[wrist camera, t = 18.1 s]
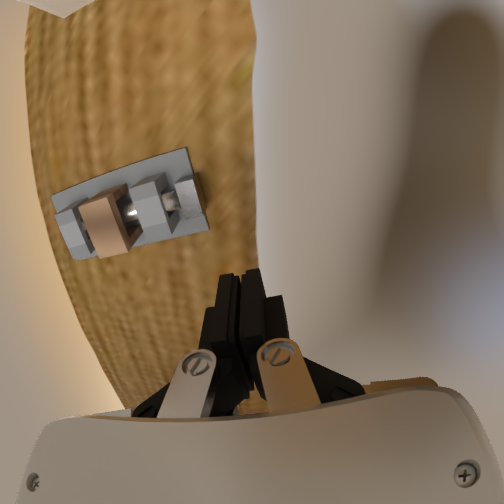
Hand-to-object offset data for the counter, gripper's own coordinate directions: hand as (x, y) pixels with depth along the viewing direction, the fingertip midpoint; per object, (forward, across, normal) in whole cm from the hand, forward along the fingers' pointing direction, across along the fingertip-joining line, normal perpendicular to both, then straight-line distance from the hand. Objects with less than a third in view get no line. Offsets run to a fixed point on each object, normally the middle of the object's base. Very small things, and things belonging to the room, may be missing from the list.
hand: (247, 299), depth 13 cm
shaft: (+21, +13, 0) cm, 25 cm away
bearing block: (+22, +16, 0) cm, 27 cm away
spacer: (+22, +16, 0) cm, 27 cm away
